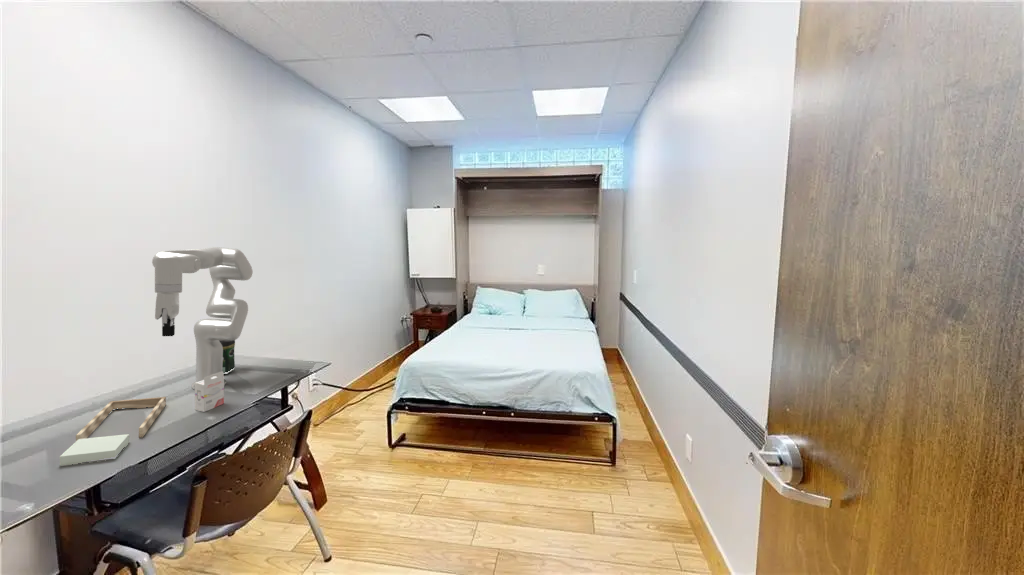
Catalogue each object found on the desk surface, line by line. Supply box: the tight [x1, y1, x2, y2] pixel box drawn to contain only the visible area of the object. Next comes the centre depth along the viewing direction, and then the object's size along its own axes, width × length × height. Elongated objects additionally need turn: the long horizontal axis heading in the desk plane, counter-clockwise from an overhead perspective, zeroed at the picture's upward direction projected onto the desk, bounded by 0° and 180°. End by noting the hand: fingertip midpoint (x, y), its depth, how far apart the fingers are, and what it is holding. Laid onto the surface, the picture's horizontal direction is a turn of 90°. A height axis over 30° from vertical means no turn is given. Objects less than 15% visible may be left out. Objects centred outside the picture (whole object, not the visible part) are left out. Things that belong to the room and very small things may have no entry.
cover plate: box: [59, 433, 130, 467], centre depth 118 cm, size 10×12×4 cm
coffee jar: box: [219, 340, 236, 373], centre depth 186 cm, size 10×8×19 cm
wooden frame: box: [75, 396, 167, 442], centre depth 136 cm, size 26×16×4 cm, turn 30°
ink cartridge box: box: [194, 371, 225, 413], centre depth 153 cm, size 9×5×15 cm, turn 168°
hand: (168, 335), depth 140 cm, fingers closed
